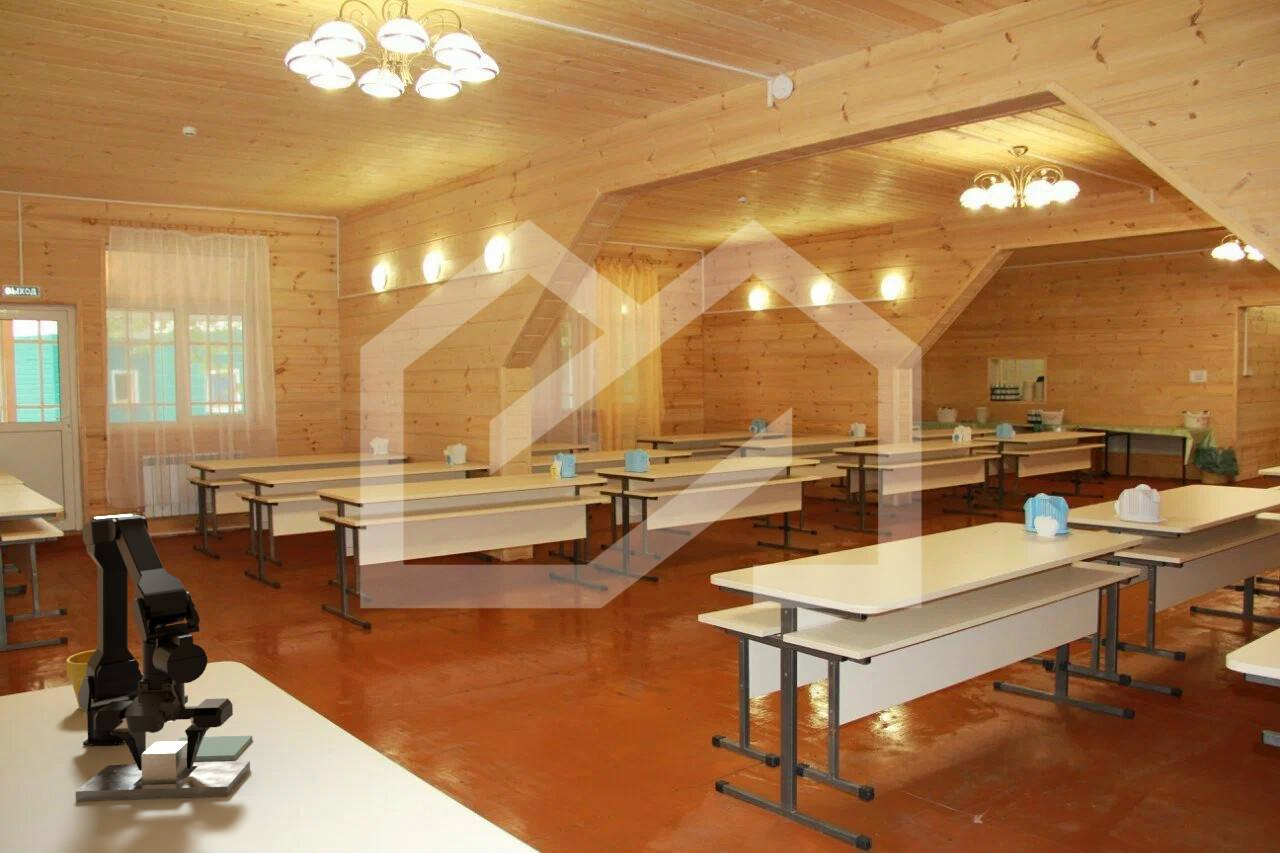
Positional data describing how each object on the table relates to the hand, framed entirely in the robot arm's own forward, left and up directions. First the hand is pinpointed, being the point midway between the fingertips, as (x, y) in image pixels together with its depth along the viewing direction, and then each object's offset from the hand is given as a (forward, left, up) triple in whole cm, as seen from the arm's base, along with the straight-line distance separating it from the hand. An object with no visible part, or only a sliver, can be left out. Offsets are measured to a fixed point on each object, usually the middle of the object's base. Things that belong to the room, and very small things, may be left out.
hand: (165, 768), depth 149 cm
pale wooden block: (0, 0, -3) cm, 3 cm away
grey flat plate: (0, 0, -2) cm, 2 cm away
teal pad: (+1, +14, -2) cm, 14 cm away
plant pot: (-29, +40, -3) cm, 49 cm away
